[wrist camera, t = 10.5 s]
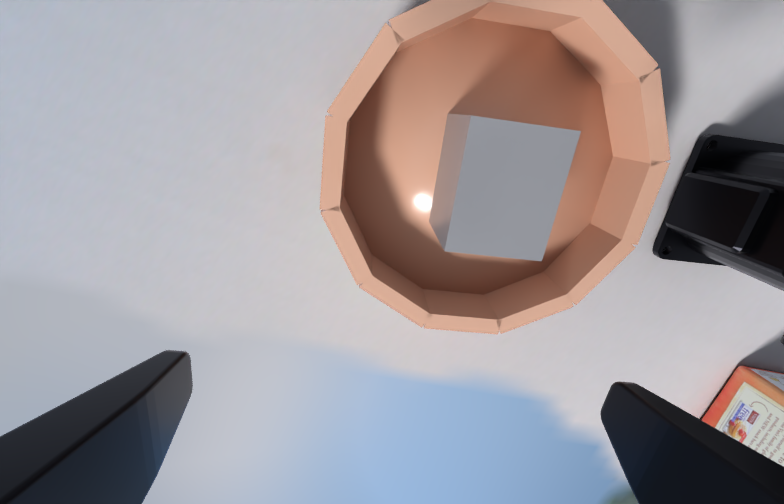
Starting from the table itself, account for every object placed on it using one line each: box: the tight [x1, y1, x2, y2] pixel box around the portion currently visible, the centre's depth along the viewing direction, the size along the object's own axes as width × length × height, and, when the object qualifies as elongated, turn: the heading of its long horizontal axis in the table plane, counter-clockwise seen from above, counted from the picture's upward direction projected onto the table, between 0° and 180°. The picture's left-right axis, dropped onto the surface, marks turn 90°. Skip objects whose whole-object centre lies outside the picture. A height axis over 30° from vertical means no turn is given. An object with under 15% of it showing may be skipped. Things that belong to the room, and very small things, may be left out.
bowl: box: [320, 0, 670, 334], centre depth 17 cm, size 14×14×4 cm
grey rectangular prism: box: [429, 114, 581, 261], centre depth 15 cm, size 4×5×4 cm
